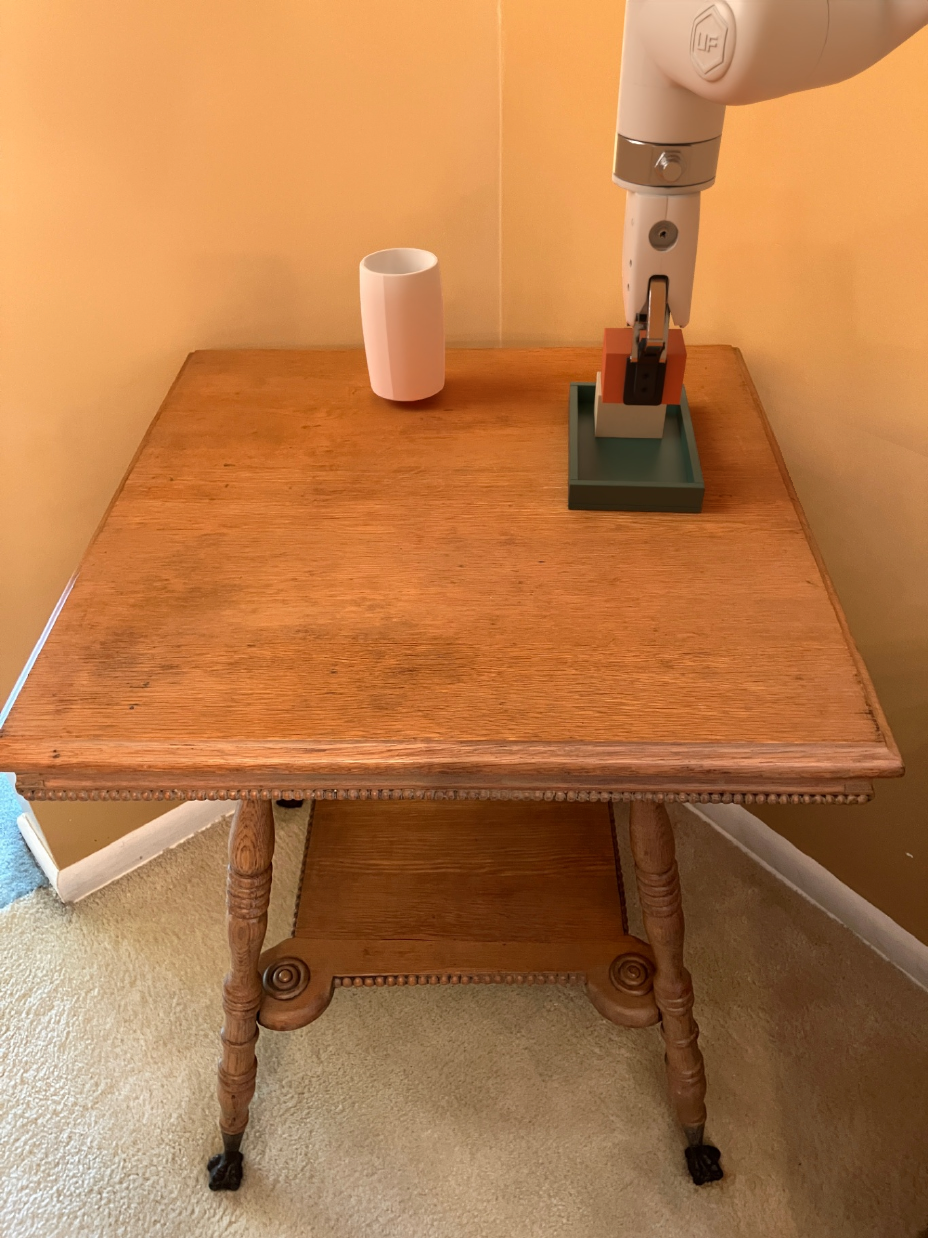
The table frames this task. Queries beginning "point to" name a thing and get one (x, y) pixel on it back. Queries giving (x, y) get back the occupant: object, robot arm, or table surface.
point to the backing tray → (632, 462)
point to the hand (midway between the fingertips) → (640, 385)
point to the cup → (403, 323)
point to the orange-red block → (620, 350)
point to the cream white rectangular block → (627, 418)
